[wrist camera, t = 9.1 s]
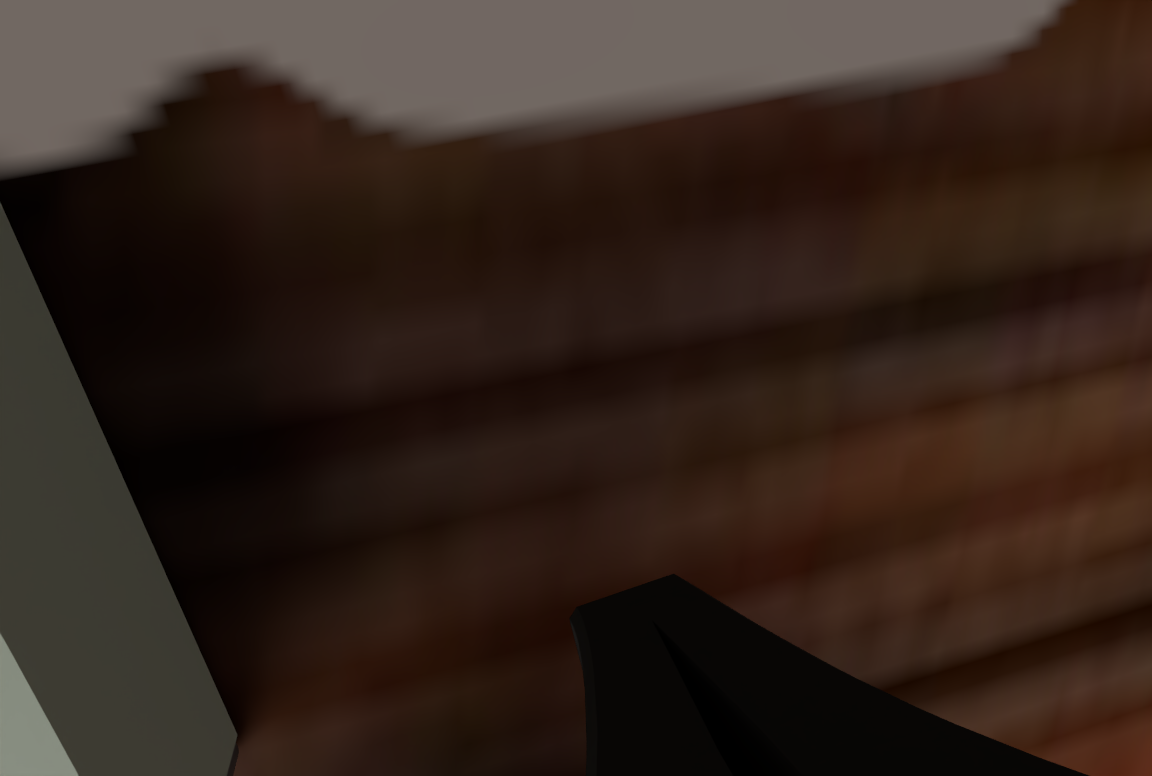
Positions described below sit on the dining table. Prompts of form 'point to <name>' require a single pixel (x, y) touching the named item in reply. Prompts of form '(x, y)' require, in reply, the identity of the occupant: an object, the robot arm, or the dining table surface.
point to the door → (84, 583)
